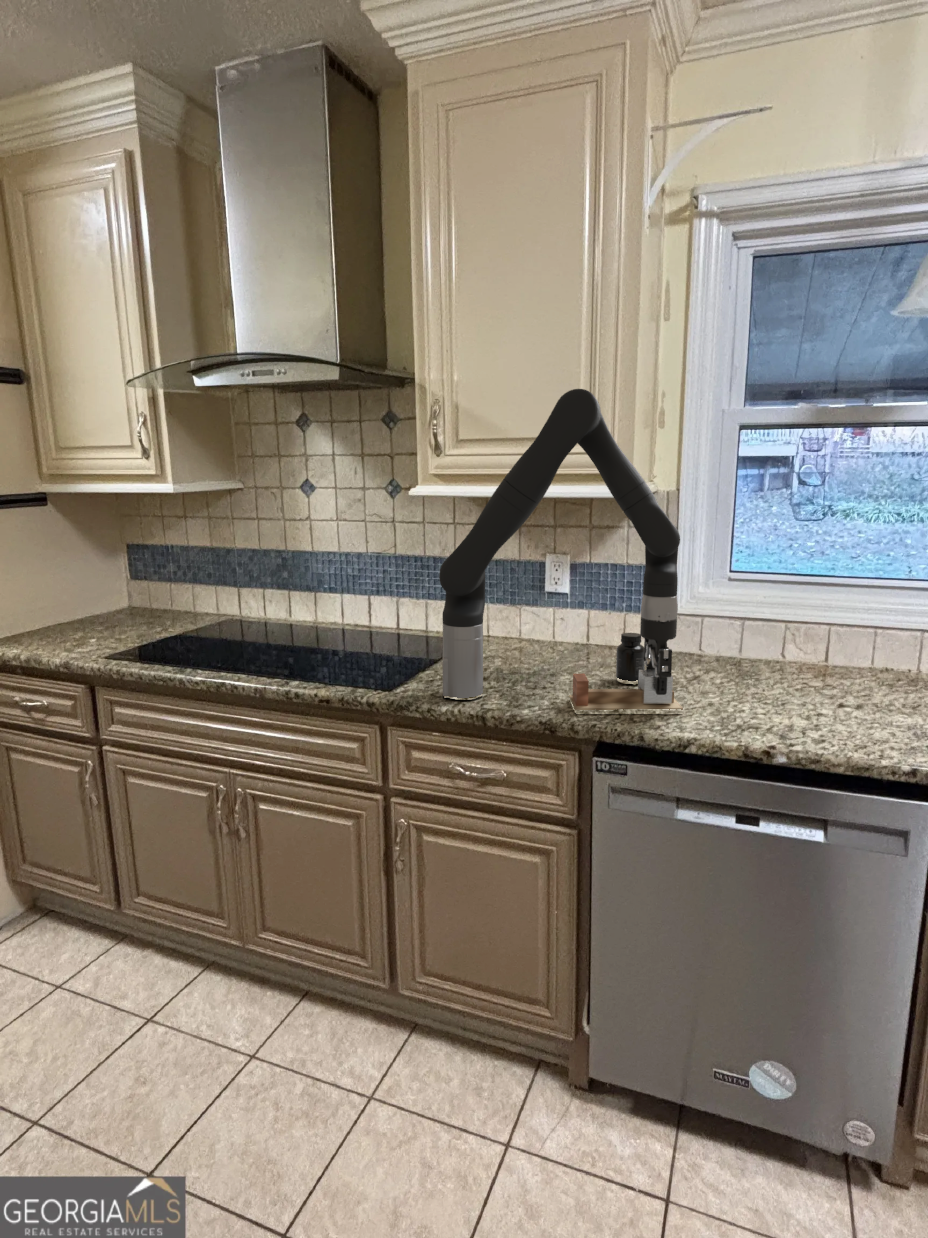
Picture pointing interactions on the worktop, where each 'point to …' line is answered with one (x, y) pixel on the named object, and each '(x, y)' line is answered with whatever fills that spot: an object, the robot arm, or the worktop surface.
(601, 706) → the rail
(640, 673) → the block
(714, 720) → the worktop surface
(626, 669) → the supplement bottle
